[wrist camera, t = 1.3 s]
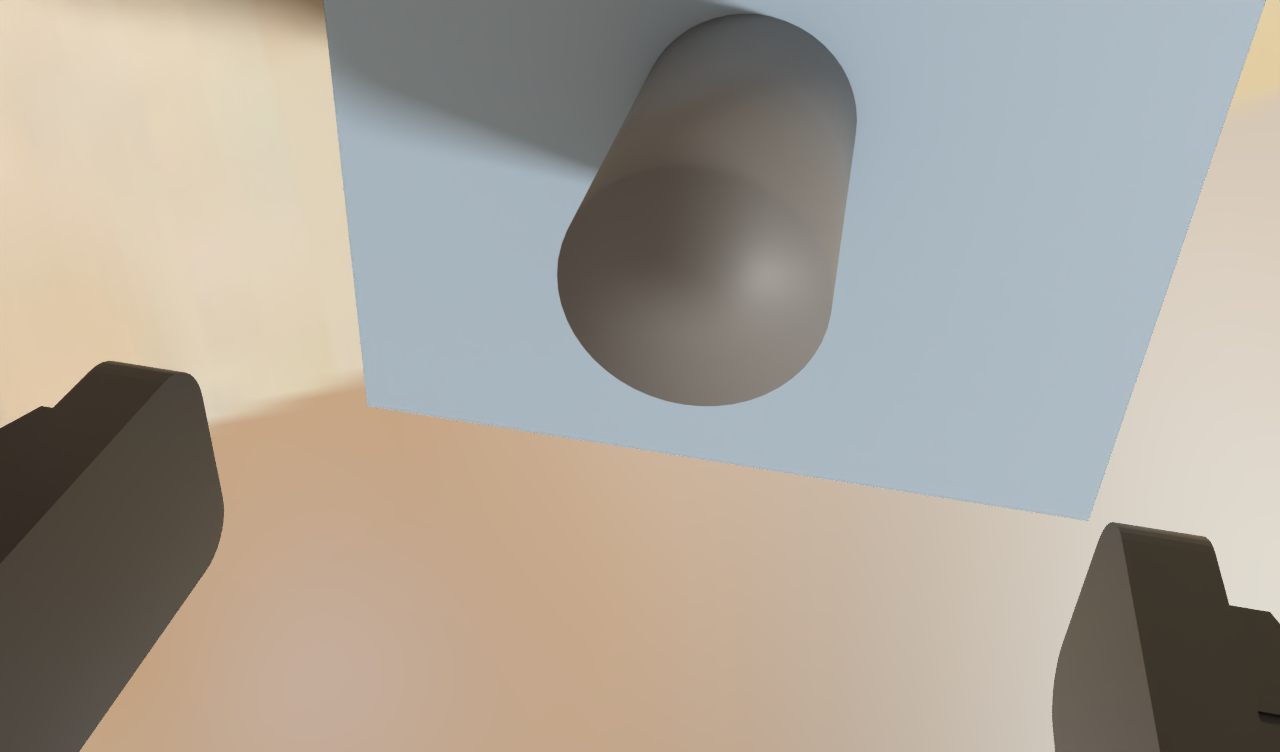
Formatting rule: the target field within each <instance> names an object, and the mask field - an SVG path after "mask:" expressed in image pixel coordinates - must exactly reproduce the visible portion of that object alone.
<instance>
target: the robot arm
mask: <svg viewBox="0 0 1280 752" xmlns="http://www.w3.org/2000/svg"><path fill="white" fill-rule="evenodd" d="M223 518H224V504H223V497H222V492H221V487H220V482H219V477H218V472H217V467H216V462H215V457H214V452H213V447H212V442H211V437H210V432H209V427H208V422H207V417H206V412H205V407H204V402H203V397H202V393H201V390H200V387H199V385H198V383H197V381H196V380H195V379H194V377H192V376H191V375H190V374H187V373H184V372H178V371H172V370H165V369H159V368H153V367H147V366H140V365H134V364H128V363H121V362H115V361H106V362H102V363H100V364H99V365H97V366H95V367H94V368H93V369H92V370H91V371H90V372H89V373H88V374H87V375H86V376H85V377H84V378H83V379H82V380H81V381H80V382H79V383H78V384H77V385H76V386H75V387H74V388H73V389H72V390H71V391H70V392H68V393H67V394H66V395H65V396H64V397H63V398H62V399H61V400H60V401H59V402H58V403H57V404H56V405H55V406H54V407H53V408H50V407H43V406H41V407H39V408H37V409H35V410H33V411H31V412H30V413H28V414H26V415H24V416H22V417H20V418H18V419H17V420H15V421H13V422H11V423H9V424H7V425H6V426H4V427H2V428H0V752H79V751H80V749H81V748H82V747H83V745H84V744H85V742H86V741H87V740H88V738H89V737H90V735H91V734H92V732H93V731H94V730H95V728H96V727H97V725H98V724H99V722H100V721H101V720H102V718H103V717H104V715H105V714H106V713H107V711H108V710H109V708H110V707H111V705H112V704H113V703H114V701H115V700H116V698H117V697H118V695H119V694H120V693H121V691H122V690H123V688H124V687H125V685H126V684H127V682H128V681H129V680H130V678H131V677H132V675H133V674H134V673H135V671H136V670H137V668H138V667H139V665H140V664H141V663H142V661H143V660H144V658H145V657H146V655H147V654H148V653H149V651H150V650H151V648H152V647H153V645H154V644H155V643H156V641H157V640H158V638H159V637H160V635H161V634H162V633H163V631H164V630H165V628H166V627H167V625H168V624H169V623H170V621H171V620H172V618H173V617H174V615H175V614H176V613H177V611H178V610H179V608H180V607H181V605H182V604H183V603H184V601H185V600H186V598H187V597H188V595H189V594H190V593H191V591H192V590H193V588H194V587H195V586H196V584H197V583H198V581H199V580H200V578H201V577H202V576H203V574H204V573H205V571H206V570H207V568H208V567H209V565H210V563H211V561H212V559H213V557H214V555H215V552H216V550H217V547H218V544H219V541H220V537H221V532H222V527H223ZM1052 720H1053V733H1054V742H1055V752H1280V624H1279V623H1278V621H1277V620H1276V619H1275V618H1274V617H1273V615H1272V614H1271V613H1270V612H1266V611H1260V610H1254V609H1248V608H1242V607H1236V606H1230V605H1229V603H1228V599H1227V595H1226V592H1225V588H1224V584H1223V580H1222V577H1221V573H1220V570H1219V566H1218V562H1217V558H1216V554H1215V551H1214V548H1213V546H1212V544H1211V542H1210V541H1209V540H1208V539H1207V538H1206V537H1202V536H1196V535H1190V534H1184V533H1177V532H1171V531H1165V530H1159V529H1152V528H1145V527H1140V526H1133V525H1127V524H1121V523H1114V522H1112V523H1109V524H1108V525H1107V526H1106V527H1105V529H1104V530H1103V532H1102V534H1101V536H1100V539H1099V541H1098V544H1097V547H1096V550H1095V553H1094V555H1093V558H1092V561H1091V564H1090V567H1089V570H1088V573H1087V575H1086V578H1085V581H1084V584H1083V587H1082V590H1081V593H1080V596H1079V599H1078V601H1077V604H1076V607H1075V610H1074V613H1073V615H1072V618H1071V621H1070V624H1069V627H1068V630H1067V633H1066V636H1065V639H1064V641H1063V644H1062V647H1061V651H1060V654H1059V658H1058V663H1057V668H1056V674H1055V680H1054V689H1053V706H1052Z"/></svg>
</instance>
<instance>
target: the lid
mask: <svg viewBox="0 0 1280 752" xmlns="http://www.w3.org/2000/svg"><path fill="white" fill-rule="evenodd" d="M323 1H324V10H325V20H326V29H327V38H328V47H329V56H330V66H331V75H332V84H333V93H334V102H335V112H336V121H337V130H338V139H339V148H340V158H341V167H342V176H343V185H344V194H345V204H346V213H347V222H348V231H349V240H350V249H351V259H352V268H353V277H354V286H355V295H356V305H357V314H358V323H359V332H360V341H361V351H362V360H363V369H364V378H365V387H366V396H367V405H368V406H370V407H377V408H383V409H390V410H396V411H402V412H408V413H414V414H421V415H428V416H433V417H439V418H446V419H452V420H458V421H464V422H471V423H477V424H483V425H490V426H496V427H502V428H509V429H515V430H522V431H527V432H534V433H540V434H546V435H552V436H559V437H565V438H571V439H578V440H584V441H590V442H597V443H603V444H609V445H615V446H621V447H628V448H634V449H640V450H646V451H653V452H660V453H665V454H672V455H678V456H684V457H691V458H697V459H703V460H709V461H716V462H722V463H728V464H734V465H741V466H747V467H753V468H759V469H766V470H772V471H778V472H784V473H791V474H797V475H803V476H810V477H816V478H822V479H828V480H836V481H841V482H847V483H854V484H860V485H866V486H873V487H879V488H885V489H892V490H897V491H904V492H910V493H917V494H923V495H929V496H935V497H941V498H948V499H954V500H961V501H966V502H973V503H980V504H985V505H992V506H998V507H1004V508H1010V509H1017V510H1024V511H1029V512H1036V513H1042V514H1048V515H1055V516H1061V517H1067V518H1073V519H1079V520H1086V521H1088V520H1089V518H1090V515H1091V512H1092V509H1093V506H1094V503H1095V500H1096V497H1097V494H1098V491H1099V488H1100V485H1101V483H1102V480H1103V477H1104V474H1105V471H1106V468H1107V465H1108V462H1109V459H1110V456H1111V453H1112V450H1113V447H1114V444H1115V441H1116V439H1117V436H1118V432H1119V430H1120V427H1121V424H1122V421H1123V418H1124V415H1125V412H1126V409H1127V406H1128V403H1129V400H1130V397H1131V395H1132V392H1133V389H1134V386H1135V383H1136V380H1137V377H1138V374H1139V371H1140V368H1141V365H1142V362H1143V359H1144V356H1145V353H1146V351H1147V347H1148V344H1149V341H1150V339H1151V336H1152V333H1153V330H1154V327H1155V324H1156V321H1157V318H1158V315H1159V312H1160V310H1161V307H1162V303H1163V301H1164V298H1165V295H1166V292H1167V289H1168V286H1169V283H1170V280H1171V277H1172V274H1173V271H1174V268H1175V266H1176V262H1177V260H1178V257H1179V254H1180V251H1181V248H1182V245H1183V242H1184V239H1185V236H1186V233H1187V230H1188V227H1189V224H1190V222H1191V219H1192V216H1193V213H1194V210H1195V207H1196V204H1197V201H1198V198H1199V195H1200V192H1201V189H1202V186H1203V183H1204V180H1205V178H1206V175H1207V172H1208V169H1209V166H1210V162H1211V160H1212V157H1213V154H1214V151H1215V148H1216V145H1217V142H1218V139H1219V136H1220V134H1221V131H1222V128H1223V125H1224V122H1225V119H1226V116H1227V113H1228V110H1229V107H1230V104H1231V101H1232V98H1233V95H1234V93H1235V90H1236V87H1237V84H1238V81H1239V78H1240V75H1241V72H1242V69H1243V66H1244V63H1245V60H1246V57H1247V54H1248V51H1249V49H1250V46H1251V43H1252V40H1253V37H1254V34H1255V31H1256V28H1257V25H1258V22H1259V19H1260V16H1261V13H1262V10H1263V7H1264V5H1265V2H1266V0H323Z"/></svg>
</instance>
